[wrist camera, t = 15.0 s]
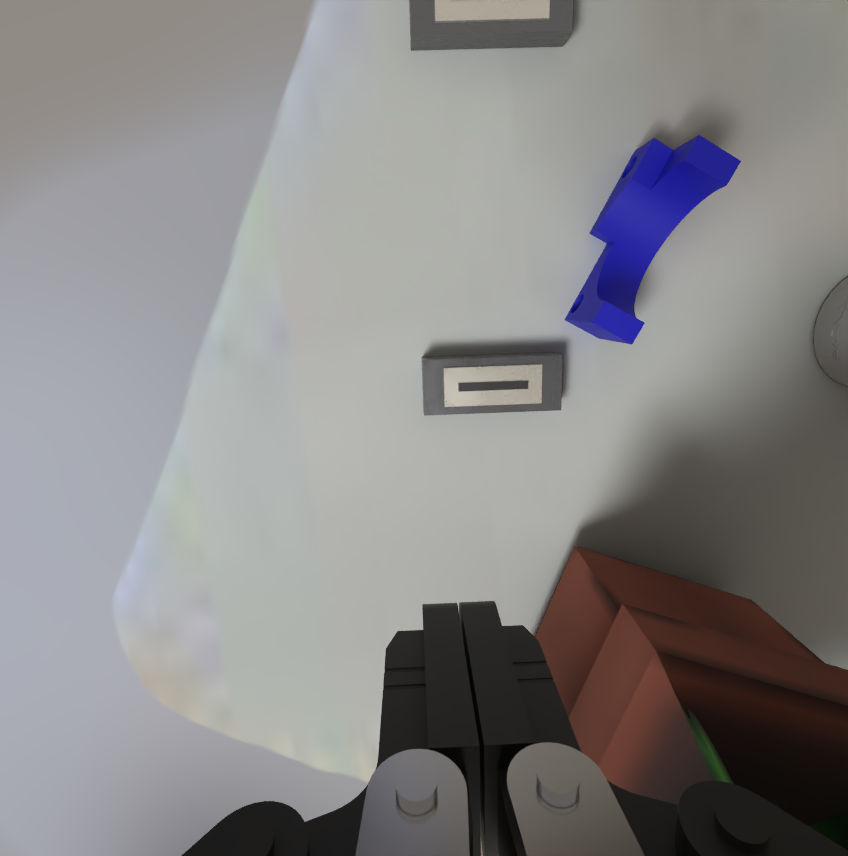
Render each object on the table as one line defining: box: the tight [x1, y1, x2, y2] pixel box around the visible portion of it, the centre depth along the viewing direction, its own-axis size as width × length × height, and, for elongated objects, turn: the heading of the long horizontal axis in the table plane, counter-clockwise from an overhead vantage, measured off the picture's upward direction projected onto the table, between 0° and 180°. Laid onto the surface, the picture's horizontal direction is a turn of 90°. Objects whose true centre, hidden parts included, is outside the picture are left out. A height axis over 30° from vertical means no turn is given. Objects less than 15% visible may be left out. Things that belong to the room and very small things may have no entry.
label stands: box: [409, 0, 573, 415], centre depth 35 cm, size 10×28×2 cm, turn 2°
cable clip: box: [565, 135, 741, 344], centre depth 34 cm, size 12×4×6 cm, turn 153°
